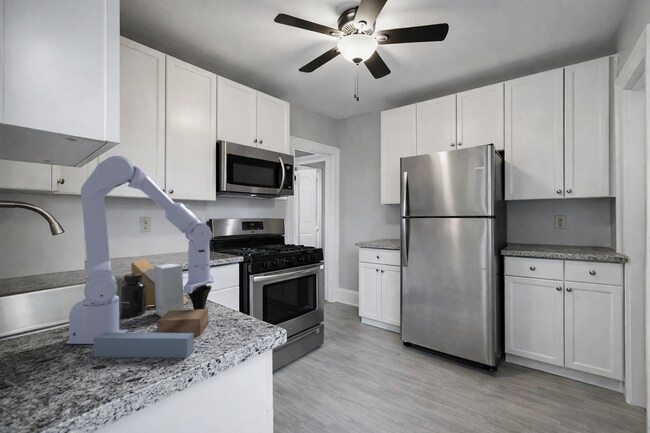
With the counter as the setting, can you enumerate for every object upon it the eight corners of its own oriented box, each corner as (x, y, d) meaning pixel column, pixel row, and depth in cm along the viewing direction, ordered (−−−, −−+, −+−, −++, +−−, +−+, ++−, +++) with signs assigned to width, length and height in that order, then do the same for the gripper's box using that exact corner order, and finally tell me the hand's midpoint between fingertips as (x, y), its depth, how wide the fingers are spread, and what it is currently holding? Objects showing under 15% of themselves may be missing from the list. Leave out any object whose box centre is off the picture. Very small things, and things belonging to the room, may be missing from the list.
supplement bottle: (117, 319, 89) (117, 277, 89) (122, 312, 95) (121, 273, 95) (145, 316, 92) (144, 275, 92) (147, 309, 98) (147, 271, 98)
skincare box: (184, 315, 92) (184, 265, 92) (162, 320, 88) (162, 267, 88) (174, 309, 98) (174, 262, 98) (153, 313, 94) (153, 264, 94)
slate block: (93, 356, 65) (93, 337, 65) (104, 350, 68) (104, 332, 68) (187, 357, 65) (187, 338, 65) (193, 351, 68) (193, 333, 68)
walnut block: (157, 339, 75) (157, 320, 75) (169, 327, 83) (169, 310, 83) (200, 337, 77) (200, 318, 76) (208, 325, 84) (208, 309, 84)
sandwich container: (180, 306, 101) (179, 261, 101) (131, 308, 100) (130, 261, 100) (189, 299, 110) (189, 257, 110) (144, 300, 109) (144, 258, 109)
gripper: (202, 269, 81) (202, 321, 81) (222, 261, 96) (222, 305, 96) (175, 269, 82) (175, 321, 82) (199, 261, 96) (199, 305, 96)
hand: (199, 312), depth 89 cm, fingers closed
